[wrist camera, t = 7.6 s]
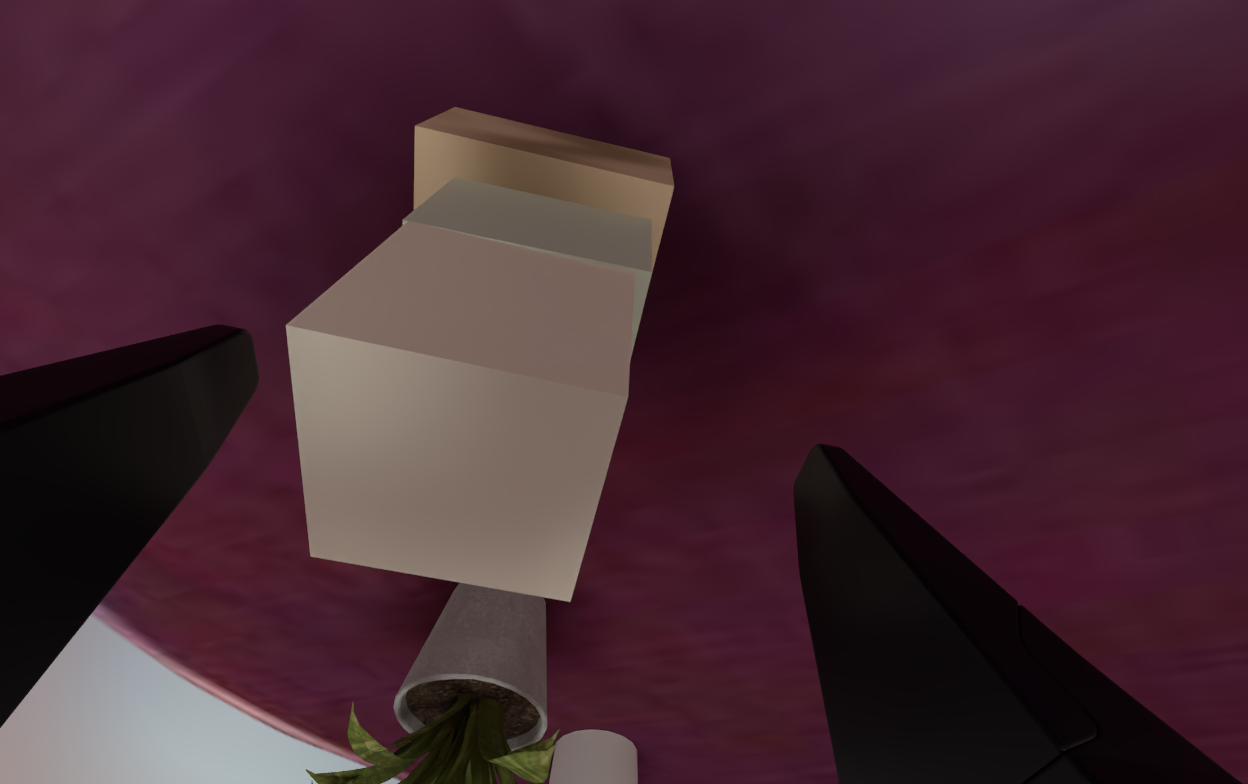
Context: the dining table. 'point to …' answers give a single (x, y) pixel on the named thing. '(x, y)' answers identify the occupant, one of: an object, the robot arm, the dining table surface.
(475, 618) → the house plant
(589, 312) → the cube
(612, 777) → the white cup
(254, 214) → the dining table surface
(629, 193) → the base block
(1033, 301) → the dining table surface
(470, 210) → the top block
